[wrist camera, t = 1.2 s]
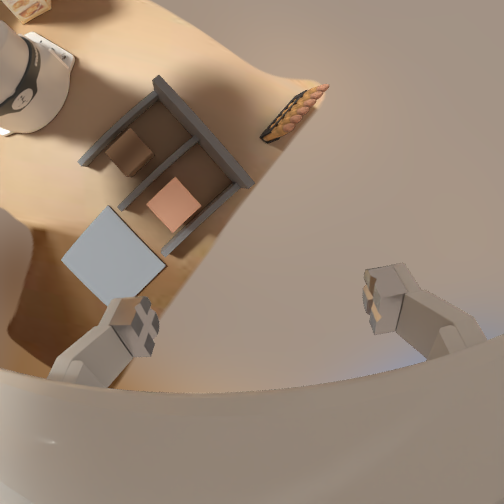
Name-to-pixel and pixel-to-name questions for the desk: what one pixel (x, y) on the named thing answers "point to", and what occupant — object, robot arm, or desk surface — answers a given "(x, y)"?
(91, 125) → the desk surface
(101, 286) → the slate mat
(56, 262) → the desk surface
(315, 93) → the ammunition clip
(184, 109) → the lane rack
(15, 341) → the desk surface
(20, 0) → the coffeecake box
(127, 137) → the walnut block
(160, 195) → the terracotta block
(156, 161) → the desk surface
